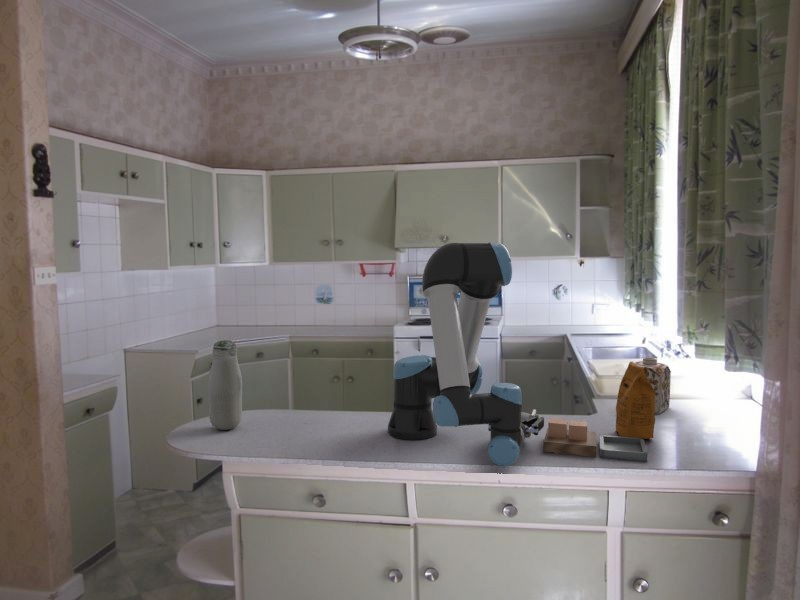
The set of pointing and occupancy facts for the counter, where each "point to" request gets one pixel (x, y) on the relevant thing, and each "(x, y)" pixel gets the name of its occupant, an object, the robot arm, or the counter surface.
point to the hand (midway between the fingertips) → (519, 412)
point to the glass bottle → (225, 387)
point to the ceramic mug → (524, 417)
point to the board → (571, 445)
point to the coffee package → (635, 404)
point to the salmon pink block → (557, 428)
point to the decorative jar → (658, 382)
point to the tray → (623, 448)
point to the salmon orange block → (578, 430)
